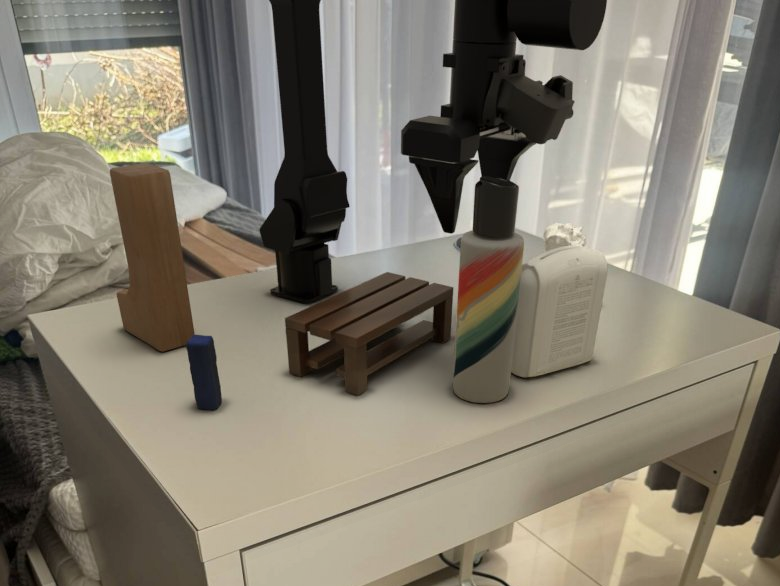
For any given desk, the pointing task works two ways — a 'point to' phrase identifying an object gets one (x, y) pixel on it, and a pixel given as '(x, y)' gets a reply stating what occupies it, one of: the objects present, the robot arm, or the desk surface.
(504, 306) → the lotion bottle
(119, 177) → the wooden block
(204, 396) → the eraser
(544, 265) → the photo printer
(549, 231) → the bust
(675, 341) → the desk surface
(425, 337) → the rack
